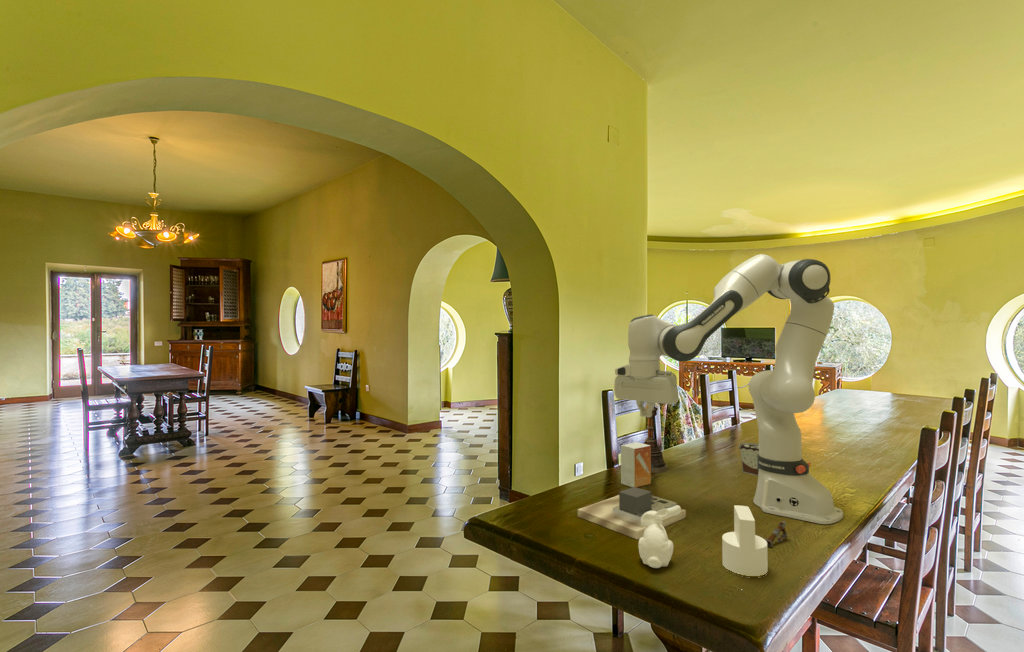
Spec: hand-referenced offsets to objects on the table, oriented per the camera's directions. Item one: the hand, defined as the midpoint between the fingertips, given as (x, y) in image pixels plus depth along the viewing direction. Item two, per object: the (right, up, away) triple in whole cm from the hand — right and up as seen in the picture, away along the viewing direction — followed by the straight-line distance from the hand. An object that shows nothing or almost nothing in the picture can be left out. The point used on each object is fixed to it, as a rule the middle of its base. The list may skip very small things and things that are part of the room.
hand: (646, 416), depth 148 cm
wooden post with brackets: (+24, -26, -26) cm, 44 cm away
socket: (-4, -24, -12) cm, 28 cm away
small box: (+2, -26, +20) cm, 33 cm away
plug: (-6, -24, -14) cm, 28 cm away
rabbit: (-7, -27, -34) cm, 44 cm away
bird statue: (+14, -26, +37) cm, 47 cm away
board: (-7, -26, -9) cm, 28 cm away
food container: (+48, -26, +30) cm, 62 cm away
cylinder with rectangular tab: (+11, -26, -38) cm, 48 cm away
